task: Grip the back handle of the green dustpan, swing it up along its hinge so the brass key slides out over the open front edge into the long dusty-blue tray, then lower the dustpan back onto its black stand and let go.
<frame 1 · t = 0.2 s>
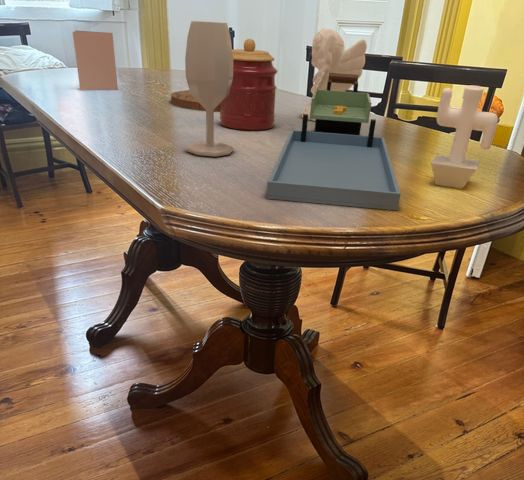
key: (339, 111, 109), point 6 cm above the table, touching green dustpan
greeting card: (96, 90, 157), on the table
trivet: (215, 104, 146), on the table
green dustpan: (341, 95, 113), point 8 cm above the table, hinge at 0.0°, touching key
tray: (333, 170, 92), on the table
stand: (336, 135, 118), on the table
cherub figurine: (324, 119, 135), on the table
figurine: (450, 184, 88), on the table
wineglass: (210, 153, 98), on the table
kitchen canister: (246, 126, 122), on the table
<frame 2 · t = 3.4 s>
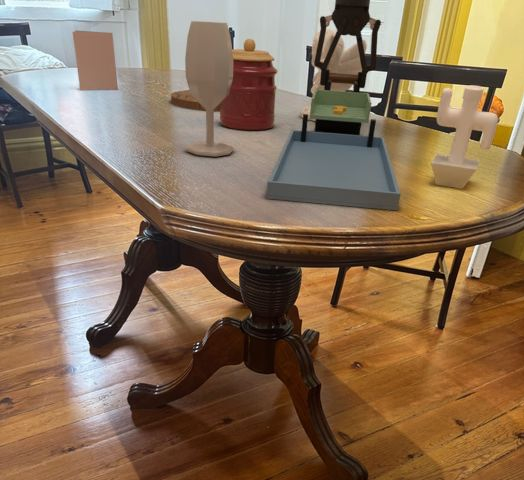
hand: (340, 101, 124), 6 cm above the table, tool pointing down, fingers closed on green dustpan, 7 cm apart
green dustpan: (341, 95, 113), point 8 cm above the table, hinge at 0.0°, touching gripper, key
everything else where it was.
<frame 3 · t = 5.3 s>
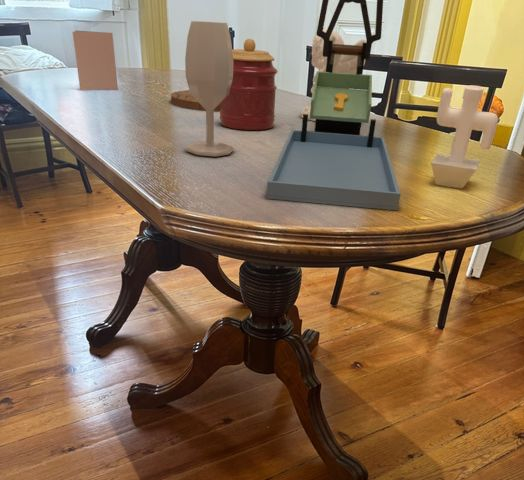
hand: (343, 74, 118), 12 cm above the table, tool pointing down, fingers closed on green dustpan, 7 cm apart
key: (340, 104, 108), point 7 cm above the table, tilted 16°, touching green dustpan
green dustpan: (343, 80, 110), point 11 cm above the table, hinge at 15.6°, touching gripper, key
everything else where it was.
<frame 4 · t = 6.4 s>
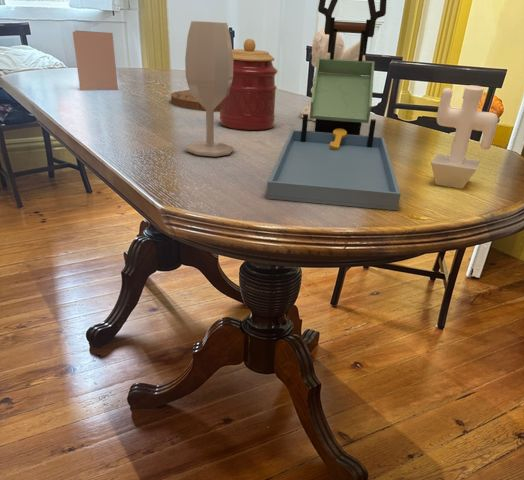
hand: (346, 53, 113), 16 cm above the table, tool pointing down, fingers closed on green dustpan, 7 cm apart
key: (337, 141, 104), point 2 cm above the table, tilted 20°, touching tray
green dustpan: (344, 69, 107), point 14 cm above the table, hinge at 28.6°, touching gripper
everything else where it was.
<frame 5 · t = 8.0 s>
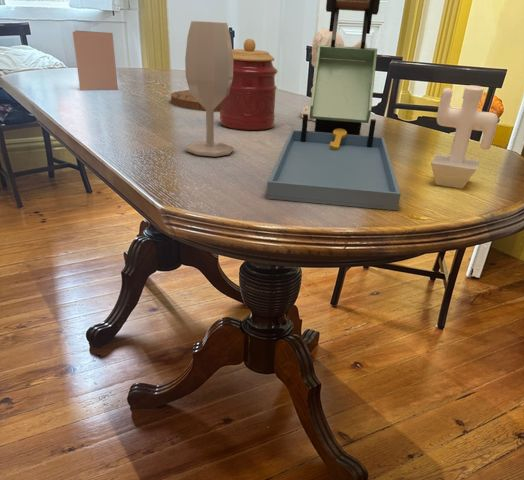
hand: (349, 32, 107), 20 cm above the table, tool pointing down, fingers closed on green dustpan, 7 cm apart
green dustpan: (346, 59, 104), point 16 cm above the table, hinge at 43.8°, touching gripper
everything else where it was.
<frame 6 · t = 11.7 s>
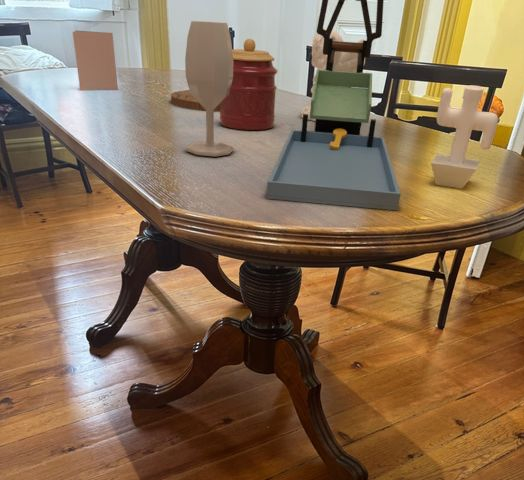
hand: (344, 72, 117), 12 cm above the table, tool pointing down, fingers closed on green dustpan, 7 cm apart
green dustpan: (343, 78, 110), point 12 cm above the table, hinge at 17.1°, touching gripper
everything else where it was.
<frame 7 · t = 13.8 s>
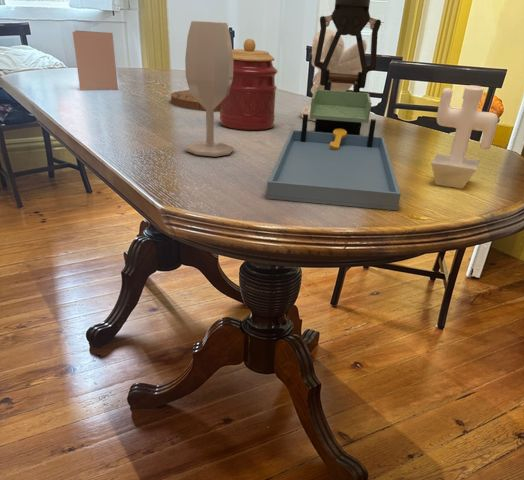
hand: (340, 101, 123), 6 cm above the table, tool pointing down, fingers closed on green dustpan, 7 cm apart
green dustpan: (341, 95, 113), point 8 cm above the table, hinge at 0.0°, touching gripper
everything else where it was.
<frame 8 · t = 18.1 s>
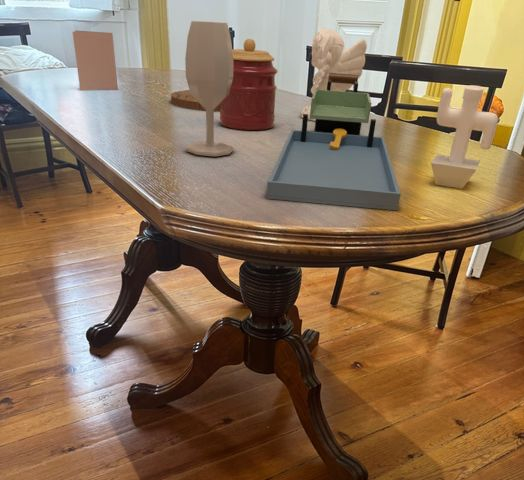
green dustpan: (341, 95, 113), point 8 cm above the table, hinge at 0.0°
everything else where it was.
at the end: key inside the target area in the tray (16.6 cm from its centre), point 1.6 cm above the tray's base; green dustpan at +0° (first picture: +0°) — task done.
